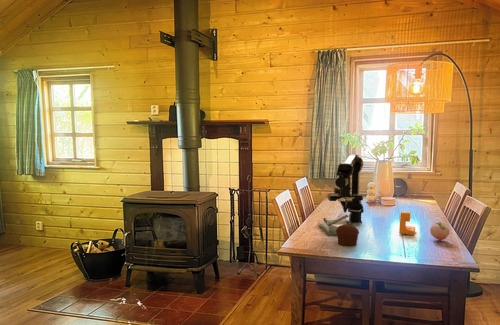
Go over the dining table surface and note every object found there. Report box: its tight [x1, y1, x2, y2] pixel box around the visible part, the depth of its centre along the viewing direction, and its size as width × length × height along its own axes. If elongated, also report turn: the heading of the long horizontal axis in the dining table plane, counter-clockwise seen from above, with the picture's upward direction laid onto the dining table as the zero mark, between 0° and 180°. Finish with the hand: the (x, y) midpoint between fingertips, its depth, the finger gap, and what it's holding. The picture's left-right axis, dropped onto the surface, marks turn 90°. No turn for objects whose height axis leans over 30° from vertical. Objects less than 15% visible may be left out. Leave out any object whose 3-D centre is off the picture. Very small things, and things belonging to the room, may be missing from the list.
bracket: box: [398, 211, 416, 236], centre depth 210 cm, size 11×7×12 cm, turn 151°
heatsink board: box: [318, 217, 353, 237], centre depth 218 cm, size 16×23×6 cm
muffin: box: [336, 224, 360, 248], centre depth 191 cm, size 12×11×10 cm
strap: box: [327, 214, 349, 226], centre depth 213 cm, size 13×3×1 cm, turn 93°
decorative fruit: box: [429, 222, 450, 242], centre depth 195 cm, size 9×8×10 cm
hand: (344, 212), depth 213 cm, fingers closed
